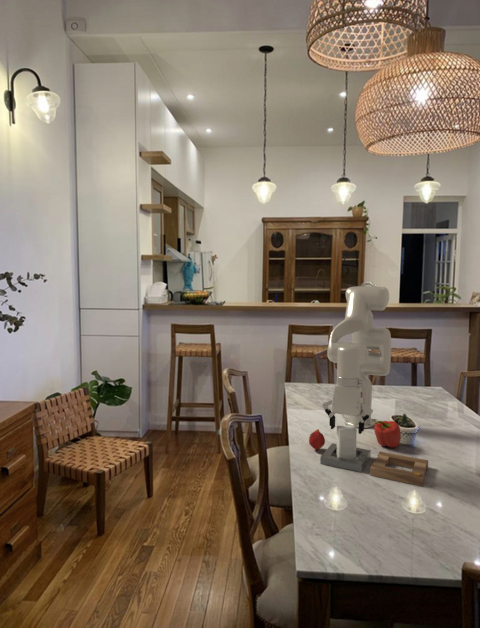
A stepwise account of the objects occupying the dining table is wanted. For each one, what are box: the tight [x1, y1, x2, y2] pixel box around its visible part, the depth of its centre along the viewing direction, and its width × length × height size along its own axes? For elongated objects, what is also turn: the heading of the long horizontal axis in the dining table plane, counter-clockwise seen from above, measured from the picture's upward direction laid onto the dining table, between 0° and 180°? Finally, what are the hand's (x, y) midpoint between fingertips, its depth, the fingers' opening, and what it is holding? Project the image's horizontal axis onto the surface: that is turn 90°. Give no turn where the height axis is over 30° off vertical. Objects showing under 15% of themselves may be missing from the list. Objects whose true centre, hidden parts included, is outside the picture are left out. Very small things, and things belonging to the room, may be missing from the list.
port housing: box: [369, 451, 429, 487], centre depth 149 cm, size 16×16×3 cm
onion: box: [308, 428, 326, 451], centre depth 167 cm, size 6×6×8 cm
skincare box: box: [336, 425, 357, 461], centre depth 157 cm, size 6×4×12 cm
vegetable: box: [373, 420, 402, 448], centre depth 171 cm, size 11×10×10 cm
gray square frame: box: [319, 442, 372, 473], centre depth 158 cm, size 14×14×2 cm
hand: (346, 430), depth 156 cm, fingers open, 9 cm apart
